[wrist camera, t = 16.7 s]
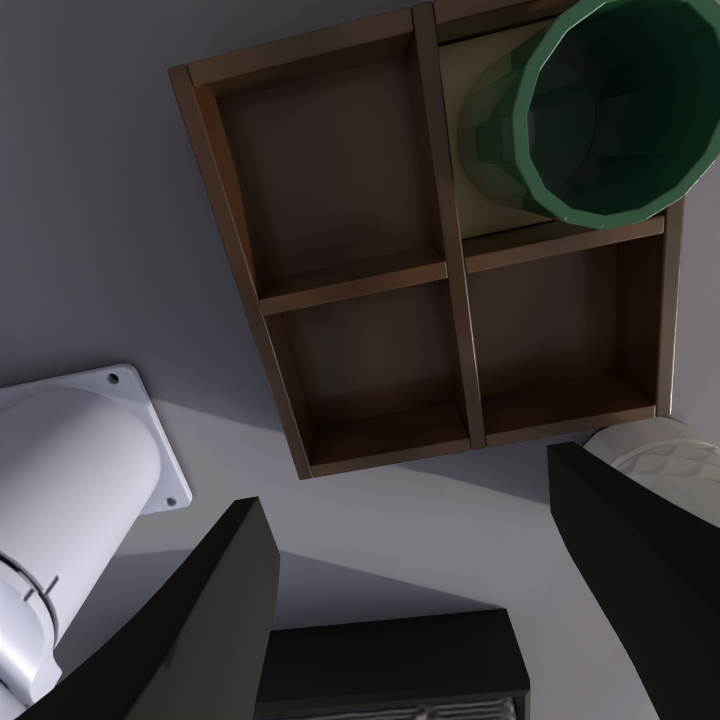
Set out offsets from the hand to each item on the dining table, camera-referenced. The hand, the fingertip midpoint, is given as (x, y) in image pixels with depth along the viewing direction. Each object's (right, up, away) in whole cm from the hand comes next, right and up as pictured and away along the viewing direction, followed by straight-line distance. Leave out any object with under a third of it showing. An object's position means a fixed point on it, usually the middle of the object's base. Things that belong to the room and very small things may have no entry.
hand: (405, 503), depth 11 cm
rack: (+2, +8, +7) cm, 11 cm away
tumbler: (+5, +12, +5) cm, 14 cm away
